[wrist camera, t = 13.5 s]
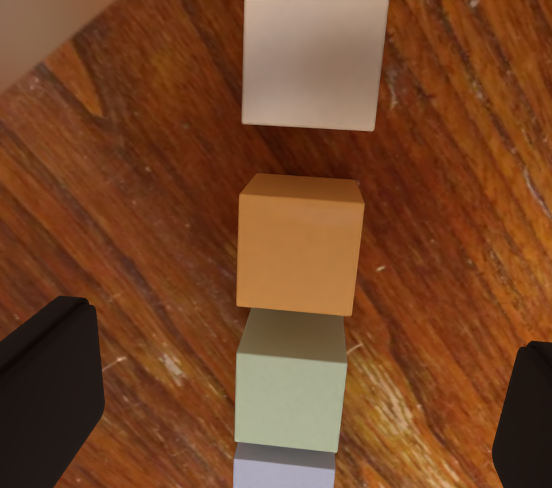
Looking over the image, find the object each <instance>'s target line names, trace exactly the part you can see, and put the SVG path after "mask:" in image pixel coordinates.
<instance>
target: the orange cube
mask: <svg viewBox="0 0 552 488" xmlns="http://www.w3.org/2000/svg"><path fill="white" fill-rule="evenodd" d="M364 207H365V204H364V201H363V198H362V195H361V193H360V190H359V187H358V184H357V182H356V180H352V179H338V178H323V177H308V176H294V175H279V174H265V173H256V175H255V176H254V177H253V178H252V179H251V181H250V182H249V183H248V184H247V186H246V187H245V188H244V189H243V191H242V192H241V193H240V194H239V215H238V254H237V294H236V305H237V306H242V307H252V308H263V309H274V310H285V311H296V312H307V313H318V314H329V315H340V316H351V315H352V310H353V301H354V293H355V284H356V276H357V267H358V258H359V250H360V241H361V233H362V224H363V216H364Z"/></svg>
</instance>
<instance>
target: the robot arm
mask: <svg viewBox="0 0 552 488" xmlns="http://www.w3.org/2000/svg"><path fill="white" fill-rule="evenodd" d="M104 406H105V399H104V388H103V378H102V367H101V357H100V347H99V336H98V326H97V315H96V309H95V307H94V306H93V305H89V302H88V300H87V299H86V298H80V297H69V296H59V297H57V298H55V299H54V300H53V301H52V302H50V303H49V304H48V305H46V306H45V307H44V308H43V309H41V310H40V311H39V312H38V313H36V314H35V315H34V316H32V317H31V318H30V319H29V320H27V321H26V322H25V323H23V324H22V325H21V326H20V327H18V328H17V329H16V330H15V331H13V332H12V333H11V334H9V335H8V336H7V337H6V338H4V339H3V340H2V341H1V342H0V488H53V487H54V486H55V484H56V483H57V481H58V480H59V479H60V477H61V476H62V474H63V473H64V471H65V470H66V468H67V467H68V465H69V464H70V462H71V461H72V460H73V458H74V457H75V455H76V454H77V452H78V451H79V449H80V448H81V446H82V445H83V443H84V442H85V440H86V439H87V438H88V436H89V435H90V433H91V432H92V430H93V429H94V427H95V426H96V424H97V423H98V421H99V420H100V418H101V417H102V414H103V411H104ZM492 458H493V463H494V466H495V469H496V471H497V473H498V476H499V478H500V480H501V483H502V485H503V487H504V488H552V343H550V342H539V341H531V342H529V343H528V345H527V347H521V348H520V349H519V350H518V352H517V356H516V359H515V363H514V367H513V371H512V375H511V378H510V382H509V386H508V390H507V394H506V398H505V401H504V405H503V409H502V413H501V417H500V420H499V424H498V428H497V432H496V436H495V440H494V443H493V448H492Z"/></svg>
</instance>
